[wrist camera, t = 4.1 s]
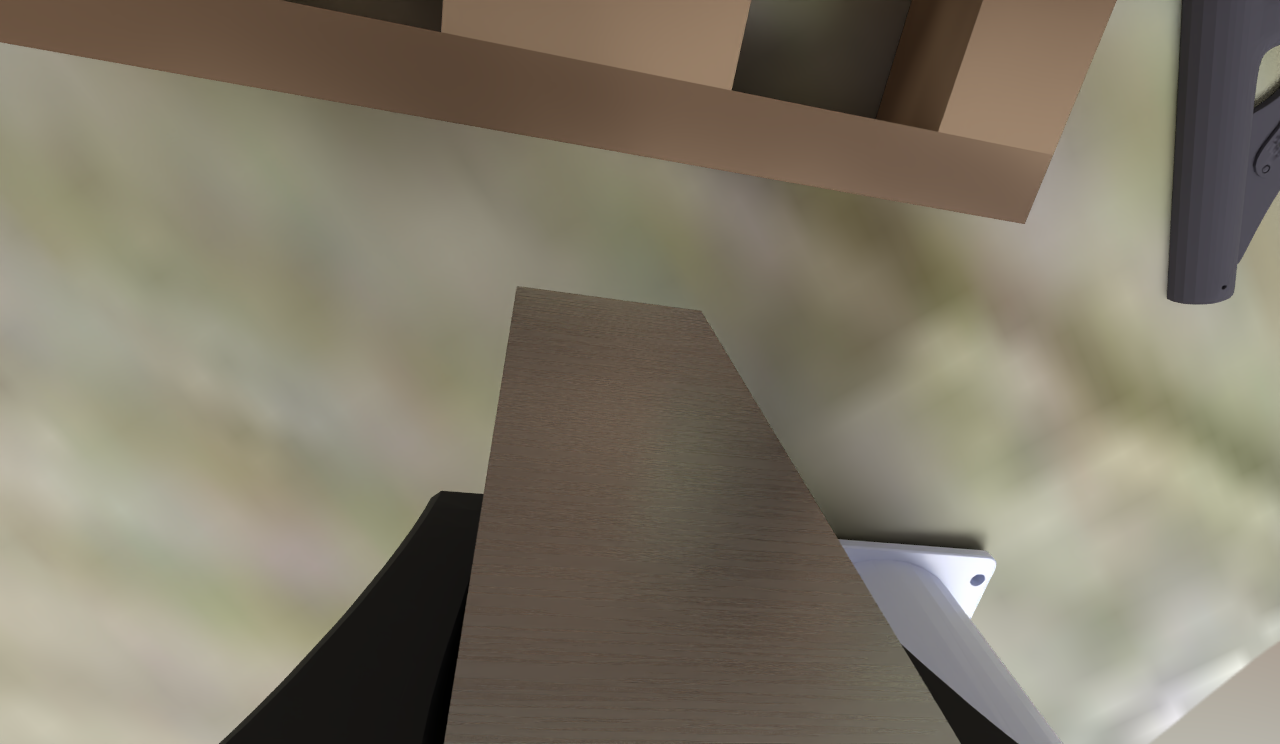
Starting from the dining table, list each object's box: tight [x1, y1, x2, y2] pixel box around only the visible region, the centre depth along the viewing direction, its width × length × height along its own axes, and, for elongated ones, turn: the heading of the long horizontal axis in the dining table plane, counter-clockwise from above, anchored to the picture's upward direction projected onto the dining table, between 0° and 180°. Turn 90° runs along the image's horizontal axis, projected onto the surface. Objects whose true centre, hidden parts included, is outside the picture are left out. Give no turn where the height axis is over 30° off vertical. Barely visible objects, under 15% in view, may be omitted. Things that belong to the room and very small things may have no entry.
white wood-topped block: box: [444, 286, 961, 744], centre depth 8 cm, size 6×3×8 cm, turn 170°
